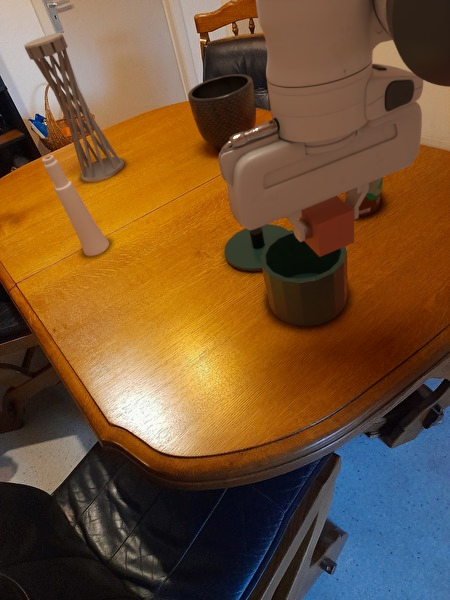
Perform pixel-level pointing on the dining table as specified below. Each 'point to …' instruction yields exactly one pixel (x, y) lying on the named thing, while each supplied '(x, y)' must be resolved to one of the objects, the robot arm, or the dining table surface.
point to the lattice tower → (101, 166)
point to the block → (329, 225)
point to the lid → (250, 246)
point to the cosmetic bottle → (76, 210)
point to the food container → (371, 198)
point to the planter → (223, 108)
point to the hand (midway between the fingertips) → (326, 227)
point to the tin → (304, 281)
